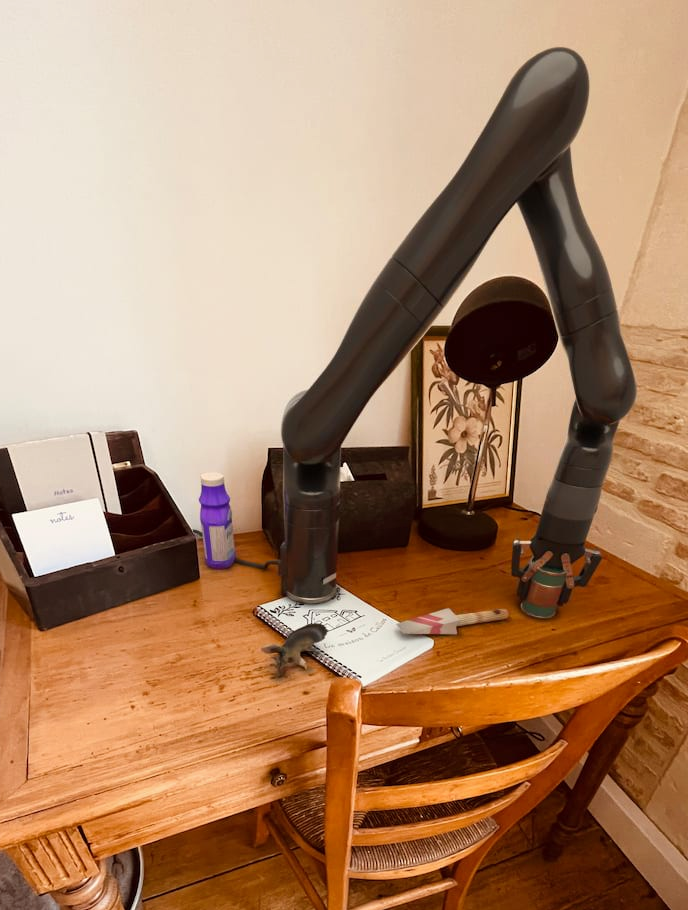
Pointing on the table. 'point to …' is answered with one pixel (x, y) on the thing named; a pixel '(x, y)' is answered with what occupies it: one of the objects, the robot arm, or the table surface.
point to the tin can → (543, 593)
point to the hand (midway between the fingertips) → (540, 600)
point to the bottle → (216, 521)
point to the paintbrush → (448, 621)
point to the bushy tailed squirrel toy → (296, 646)
